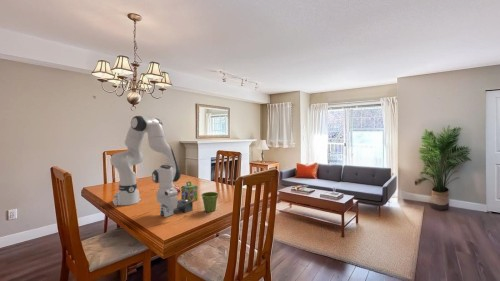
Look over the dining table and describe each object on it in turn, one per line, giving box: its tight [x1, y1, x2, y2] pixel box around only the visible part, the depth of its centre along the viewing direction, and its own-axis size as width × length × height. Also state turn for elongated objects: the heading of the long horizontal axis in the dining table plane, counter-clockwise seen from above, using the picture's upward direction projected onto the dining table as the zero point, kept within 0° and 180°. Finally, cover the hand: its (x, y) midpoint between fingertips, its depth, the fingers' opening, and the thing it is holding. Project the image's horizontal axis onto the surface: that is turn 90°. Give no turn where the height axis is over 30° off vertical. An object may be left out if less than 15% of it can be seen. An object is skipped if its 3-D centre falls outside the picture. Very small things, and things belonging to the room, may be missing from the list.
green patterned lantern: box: [180, 180, 198, 202], centre depth 183 cm, size 9×9×15 cm
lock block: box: [159, 204, 174, 218], centre depth 151 cm, size 6×6×6 cm
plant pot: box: [200, 191, 220, 213], centre depth 160 cm, size 12×12×11 cm
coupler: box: [173, 199, 194, 215], centre depth 158 cm, size 10×16×7 cm, turn 139°
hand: (166, 211), depth 151 cm, fingers closed on lock block, 6 cm apart
